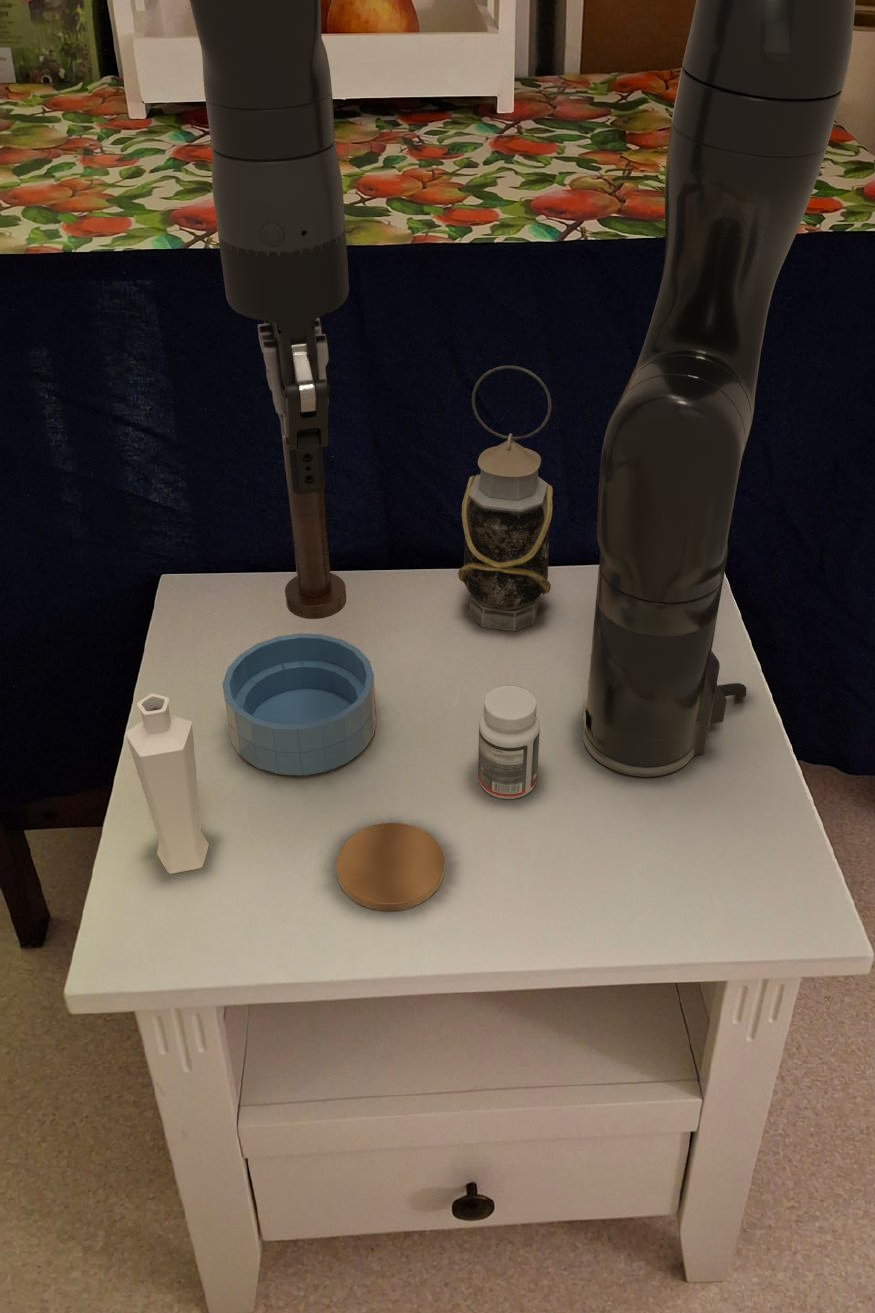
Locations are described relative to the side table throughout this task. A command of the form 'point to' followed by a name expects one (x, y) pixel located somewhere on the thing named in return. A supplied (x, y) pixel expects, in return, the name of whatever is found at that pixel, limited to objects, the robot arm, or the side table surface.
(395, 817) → the side table surface
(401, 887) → the coaster
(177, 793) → the perfume bottle
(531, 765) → the pill bottle
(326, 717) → the bowl
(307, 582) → the brown wooden peg
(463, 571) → the lantern
